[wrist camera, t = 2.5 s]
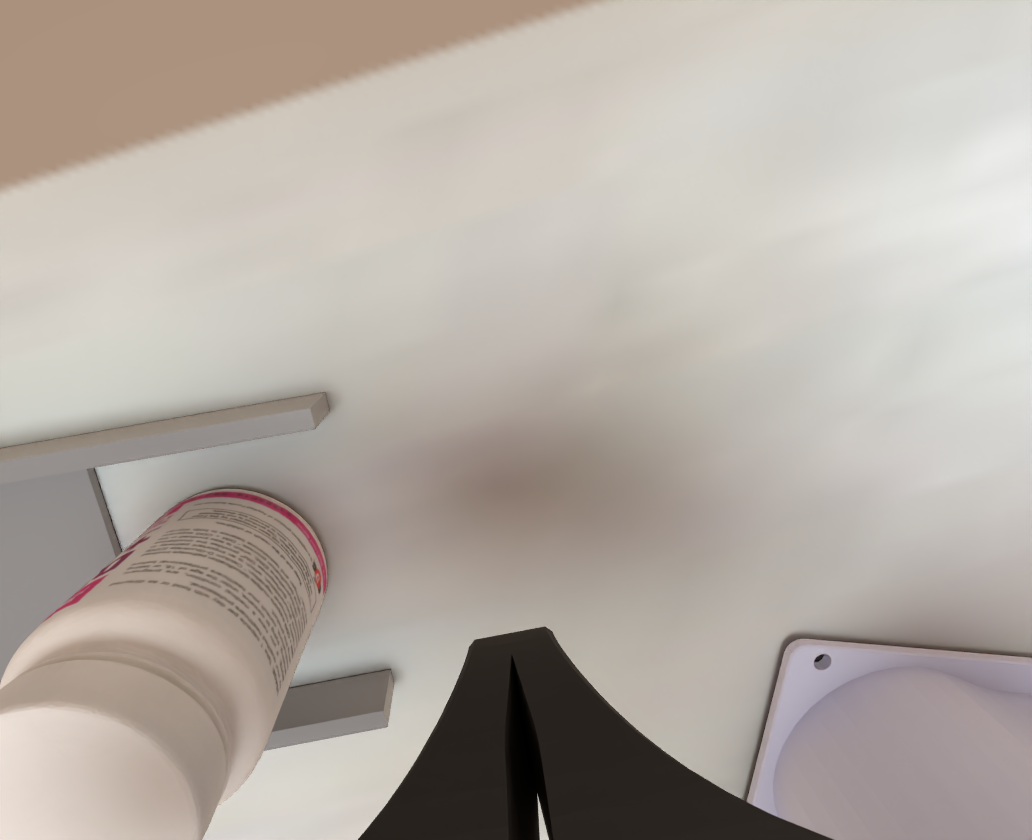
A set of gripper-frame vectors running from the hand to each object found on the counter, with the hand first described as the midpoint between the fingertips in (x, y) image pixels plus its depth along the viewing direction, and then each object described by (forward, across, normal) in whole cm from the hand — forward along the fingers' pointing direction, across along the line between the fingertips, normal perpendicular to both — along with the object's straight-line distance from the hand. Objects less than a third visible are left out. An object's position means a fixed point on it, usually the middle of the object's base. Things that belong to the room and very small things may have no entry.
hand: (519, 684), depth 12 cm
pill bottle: (+7, +7, 0) cm, 10 cm away
